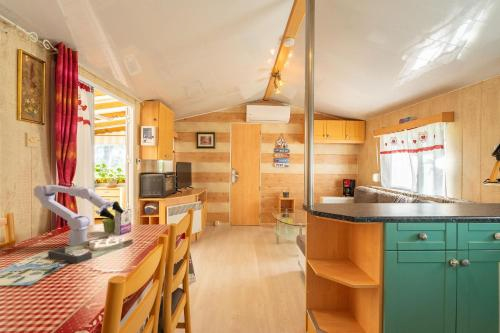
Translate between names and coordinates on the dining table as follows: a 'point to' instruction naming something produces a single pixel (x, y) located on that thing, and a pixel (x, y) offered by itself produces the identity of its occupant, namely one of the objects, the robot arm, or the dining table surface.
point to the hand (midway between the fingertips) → (118, 215)
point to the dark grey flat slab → (68, 256)
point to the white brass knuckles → (104, 243)
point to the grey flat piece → (100, 251)
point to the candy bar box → (123, 222)
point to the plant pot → (109, 225)
